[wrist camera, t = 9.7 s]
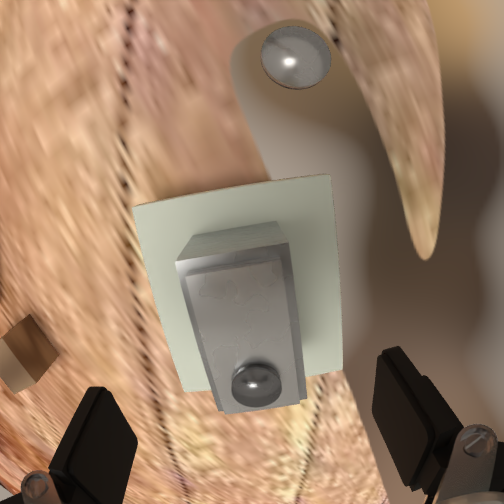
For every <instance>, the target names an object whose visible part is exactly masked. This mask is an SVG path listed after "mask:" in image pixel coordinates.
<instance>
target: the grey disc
mask: <svg viewBox="0 0 504 504" xmlns="http://www.w3.org/2000/svg"><path fill="white" fill-rule="evenodd" d="M261 64H262V67H263V70H264V71H265V73H266V74H267V76H268V77H269V78H270V79H271V80H272V81H274V82H275V83H276V84H278V85H280V86H282V87H285V88H288V89H294V90H302V89H307V88H310V87H312V86H314V85H316V84H317V83H319V82H320V81H321V80H322V79H323V78H324V77H325V76H326V74H327V73H328V71H329V69H330V66H331V54H330V50H329V48H328V46H327V45H326V43H325V41H324V40H323V39H322V38H321V37H320V36H319V35H318V34H316V33H315V32H313V31H311V30H309V29H306V28H303V27H297V26H288V27H283V28H280V29H278V30H275V31H274V32H272V33H271V34H270V35H269V36H268V37H267V38H266V40H265V41H264V43H263V46H262V50H261Z"/></svg>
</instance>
